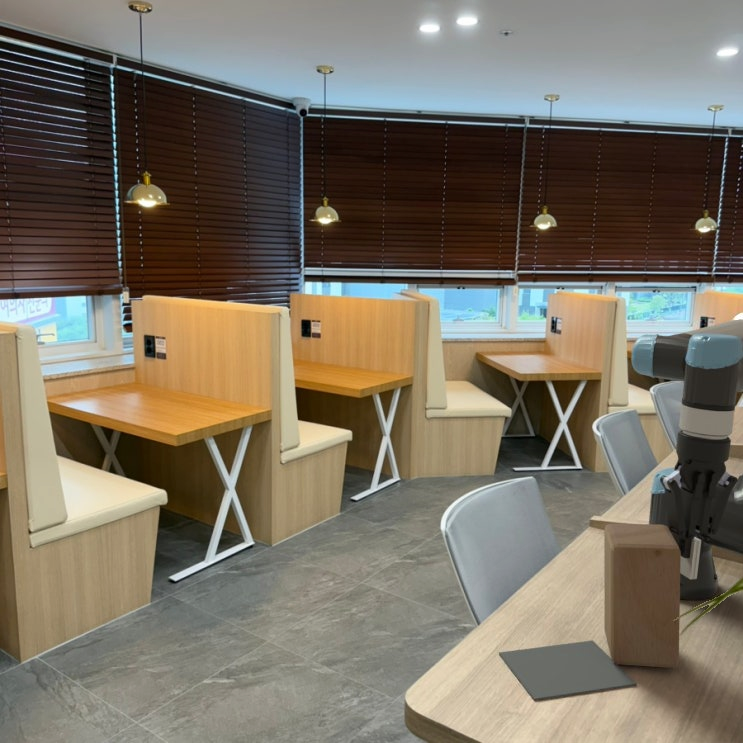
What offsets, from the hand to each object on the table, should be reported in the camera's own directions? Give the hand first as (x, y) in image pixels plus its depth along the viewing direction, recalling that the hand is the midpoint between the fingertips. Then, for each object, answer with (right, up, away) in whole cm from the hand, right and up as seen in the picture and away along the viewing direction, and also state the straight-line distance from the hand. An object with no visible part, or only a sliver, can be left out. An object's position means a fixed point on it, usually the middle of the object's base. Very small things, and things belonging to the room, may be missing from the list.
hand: (687, 575), depth 111 cm
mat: (-21, -13, -4) cm, 25 cm away
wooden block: (-7, -13, +1) cm, 15 cm away
